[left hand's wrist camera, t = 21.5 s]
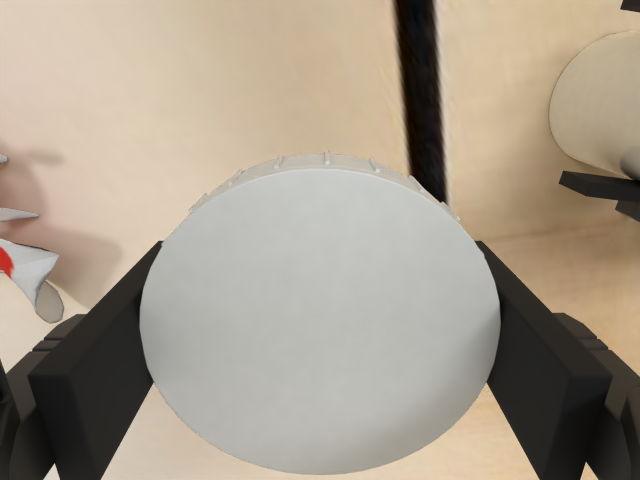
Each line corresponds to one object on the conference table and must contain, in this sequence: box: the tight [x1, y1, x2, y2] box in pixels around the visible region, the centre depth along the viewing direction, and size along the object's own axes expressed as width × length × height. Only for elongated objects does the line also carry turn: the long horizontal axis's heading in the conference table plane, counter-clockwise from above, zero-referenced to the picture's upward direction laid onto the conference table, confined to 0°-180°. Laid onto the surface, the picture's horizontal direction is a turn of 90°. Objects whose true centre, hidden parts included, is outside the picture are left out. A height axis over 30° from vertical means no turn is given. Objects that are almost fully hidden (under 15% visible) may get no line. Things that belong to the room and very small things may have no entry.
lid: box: [140, 151, 501, 475], centre depth 11 cm, size 9×9×2 cm
